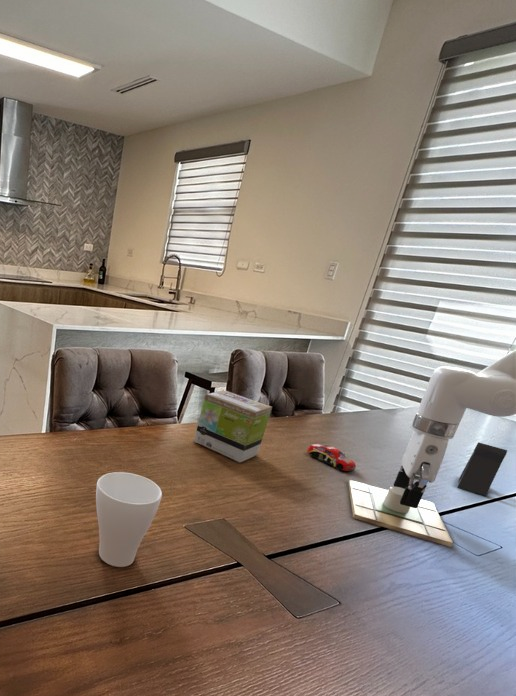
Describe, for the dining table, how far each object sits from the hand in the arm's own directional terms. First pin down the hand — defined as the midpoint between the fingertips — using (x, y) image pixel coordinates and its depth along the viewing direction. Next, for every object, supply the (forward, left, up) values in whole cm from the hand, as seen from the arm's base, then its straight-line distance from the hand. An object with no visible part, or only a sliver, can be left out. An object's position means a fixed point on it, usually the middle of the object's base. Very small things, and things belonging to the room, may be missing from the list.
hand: (404, 496), depth 106 cm
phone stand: (-22, -32, -4) cm, 39 cm away
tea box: (+41, -10, -4) cm, 42 cm away
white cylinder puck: (+1, 0, -3) cm, 3 cm away
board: (+1, 0, -4) cm, 4 cm away
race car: (+14, -22, -4) cm, 26 cm away
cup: (+49, +54, -4) cm, 73 cm away
